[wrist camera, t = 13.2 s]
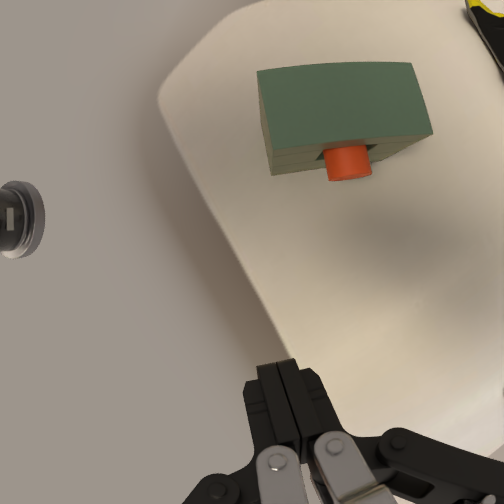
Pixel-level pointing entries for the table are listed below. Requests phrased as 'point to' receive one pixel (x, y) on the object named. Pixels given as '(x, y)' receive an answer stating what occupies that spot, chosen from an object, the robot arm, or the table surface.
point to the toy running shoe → (488, 28)
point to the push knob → (347, 162)
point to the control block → (339, 111)
